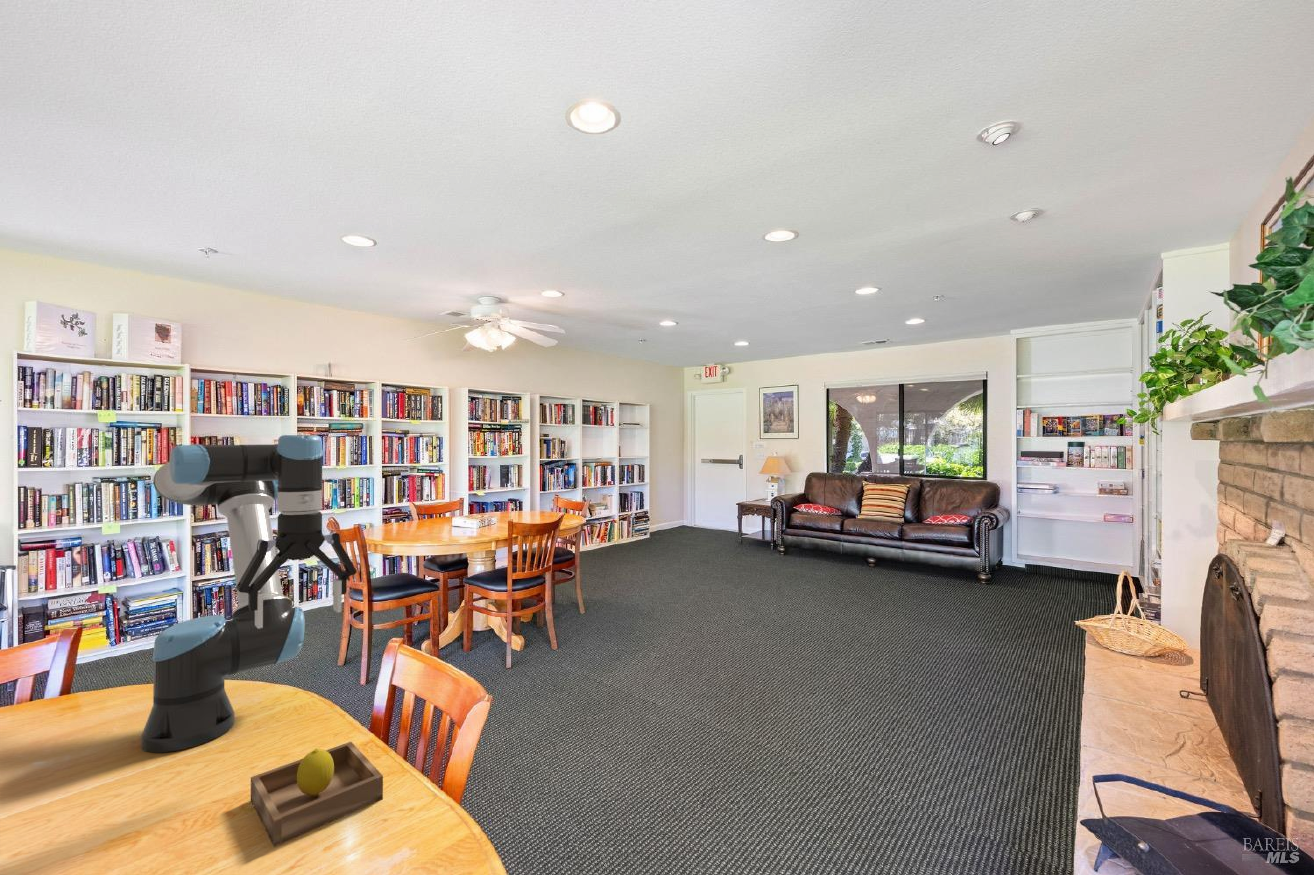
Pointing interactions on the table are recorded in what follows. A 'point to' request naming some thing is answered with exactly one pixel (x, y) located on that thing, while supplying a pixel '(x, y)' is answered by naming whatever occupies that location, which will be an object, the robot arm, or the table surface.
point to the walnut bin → (301, 813)
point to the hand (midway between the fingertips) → (299, 618)
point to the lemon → (315, 772)
